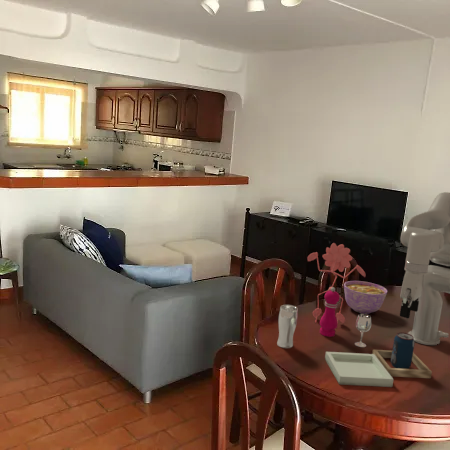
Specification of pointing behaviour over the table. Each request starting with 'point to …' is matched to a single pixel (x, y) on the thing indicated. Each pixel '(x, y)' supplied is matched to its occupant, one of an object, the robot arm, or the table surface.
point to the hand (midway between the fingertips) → (408, 313)
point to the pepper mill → (329, 314)
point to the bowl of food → (364, 296)
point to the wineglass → (363, 326)
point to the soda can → (402, 351)
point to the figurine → (336, 260)
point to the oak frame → (398, 372)
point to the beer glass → (287, 325)
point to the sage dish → (358, 369)
